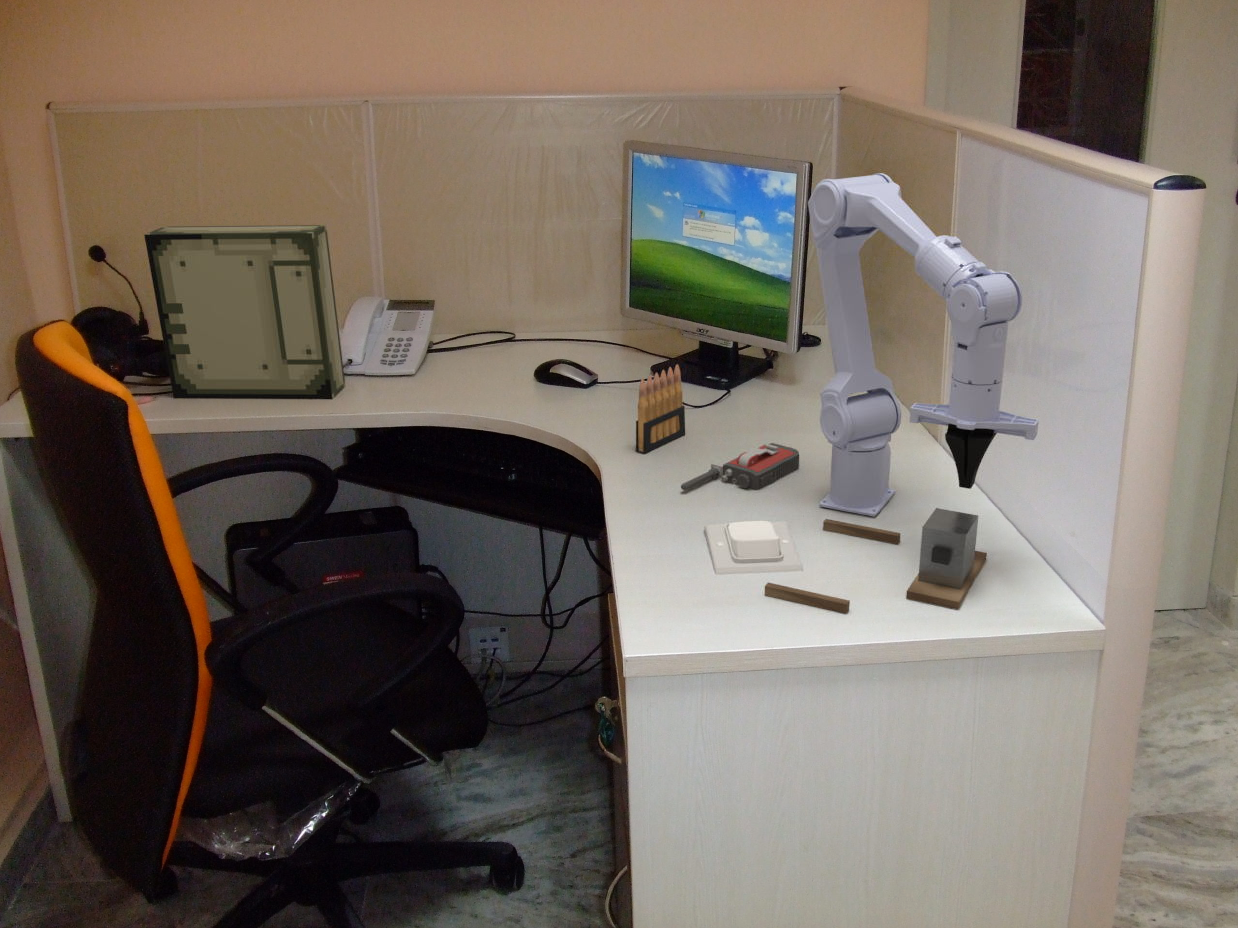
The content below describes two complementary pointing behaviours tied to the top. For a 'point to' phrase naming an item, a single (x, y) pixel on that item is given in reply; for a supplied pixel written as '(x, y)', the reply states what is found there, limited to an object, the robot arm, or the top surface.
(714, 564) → the light switch
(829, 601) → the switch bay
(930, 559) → the junction box
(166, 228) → the control panel
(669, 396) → the ammunition clip
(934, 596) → the mounting board
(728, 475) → the walkie-talkie
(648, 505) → the top surface
